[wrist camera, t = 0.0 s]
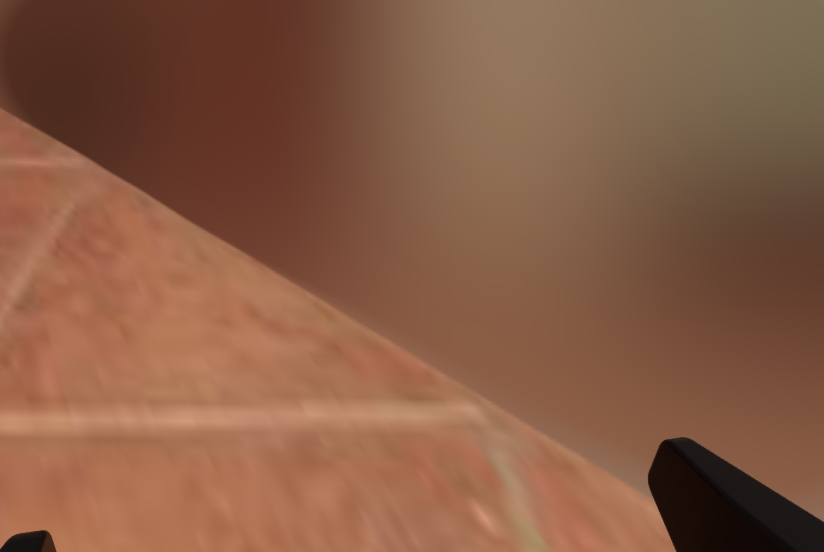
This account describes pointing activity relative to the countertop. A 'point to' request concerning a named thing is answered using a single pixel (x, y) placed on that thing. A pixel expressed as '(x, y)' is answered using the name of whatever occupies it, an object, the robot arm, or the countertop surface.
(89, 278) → the countertop surface
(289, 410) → the countertop surface
